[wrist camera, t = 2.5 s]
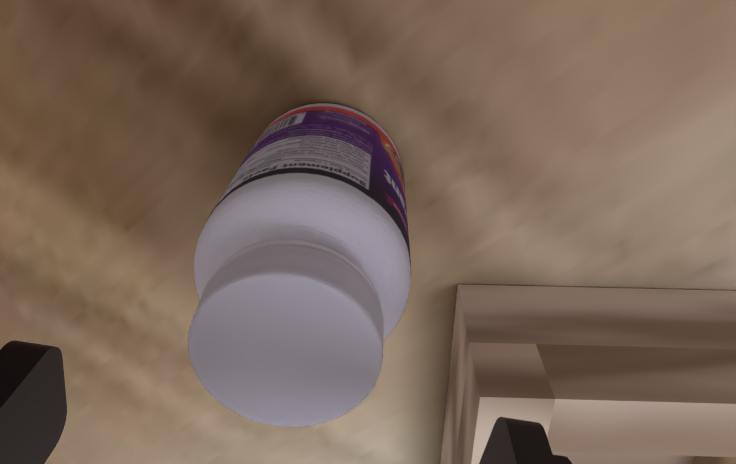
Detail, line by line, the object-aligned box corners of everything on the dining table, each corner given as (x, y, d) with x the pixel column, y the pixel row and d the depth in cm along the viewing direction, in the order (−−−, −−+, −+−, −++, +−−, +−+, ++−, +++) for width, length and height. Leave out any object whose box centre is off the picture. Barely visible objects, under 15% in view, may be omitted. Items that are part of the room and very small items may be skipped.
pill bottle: (394, 248, 21) (399, 463, 13) (251, 233, 21) (159, 439, 13) (414, 107, 19) (437, 258, 10) (252, 89, 19) (138, 226, 10)
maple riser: (457, 284, 22) (479, 396, 17) (746, 290, 22) (861, 407, 16) (438, 476, 27) (451, 609, 22) (671, 484, 27) (740, 620, 22)
